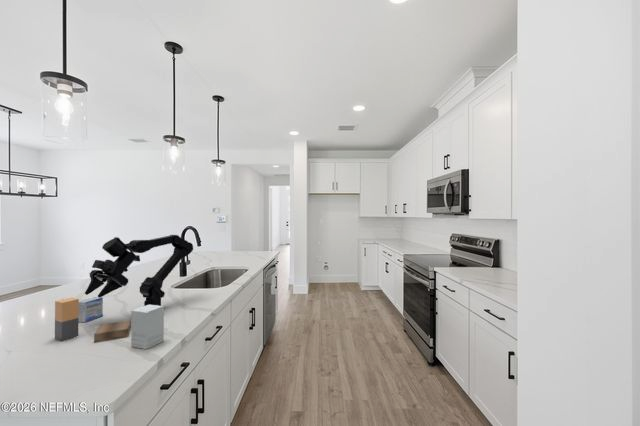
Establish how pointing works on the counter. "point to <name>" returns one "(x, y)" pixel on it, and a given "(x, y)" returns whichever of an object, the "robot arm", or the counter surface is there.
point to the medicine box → (90, 309)
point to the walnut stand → (112, 331)
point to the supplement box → (147, 326)
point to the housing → (66, 318)
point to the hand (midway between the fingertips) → (92, 295)
